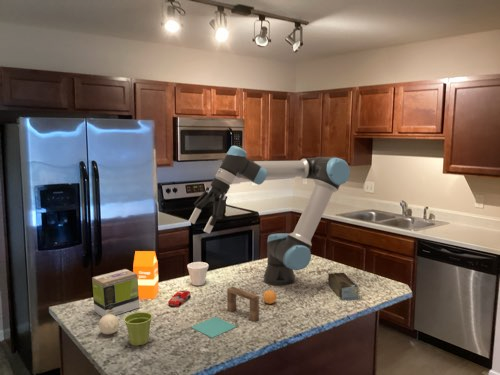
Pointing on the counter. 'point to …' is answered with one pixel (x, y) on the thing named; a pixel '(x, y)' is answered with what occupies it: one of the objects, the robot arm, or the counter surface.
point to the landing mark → (213, 327)
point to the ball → (269, 296)
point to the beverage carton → (343, 286)
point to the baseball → (108, 324)
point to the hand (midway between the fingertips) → (198, 227)
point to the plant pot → (138, 327)
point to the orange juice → (146, 273)
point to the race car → (179, 298)
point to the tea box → (115, 292)
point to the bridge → (252, 297)
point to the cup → (197, 272)
